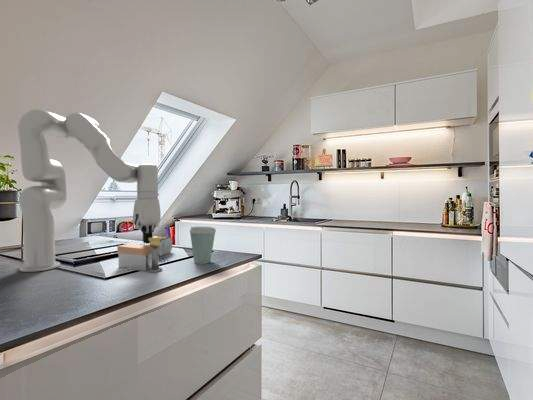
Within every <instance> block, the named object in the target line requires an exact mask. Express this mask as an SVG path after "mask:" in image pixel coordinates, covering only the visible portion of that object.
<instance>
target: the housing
mask: <svg viewBox="0 0 533 400" xmlns="http://www.w3.org/2000/svg"><path fill="white" fill-rule="evenodd" d="M117 255H118V268H119V267H121V268H120V269H126V268H131V269H130V270H133V269H137V270H136V271H140V272H141V271H142V272H148V273H159V272H162V271H163V268H162V267H160V264H159V263H160V261H159V260H160V259H159V258H160V257H159V248H158V246H152V253H151V254H147V255H143V256H142V255H134V254H125V253H118V252H117Z"/></svg>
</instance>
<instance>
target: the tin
mask: <svg viewBox="0 0 533 400" xmlns="http://www.w3.org/2000/svg"><path fill="white" fill-rule="evenodd" d="M160 237H161V240H160V246H158V248H159V258H161V257H164V256H166V255H169V254H170V253H171V252H172V249H173V238H172V236H169V235H168V236H167V235H163V236H160Z"/></svg>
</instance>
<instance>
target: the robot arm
mask: <svg viewBox="0 0 533 400" xmlns="http://www.w3.org/2000/svg"><path fill="white" fill-rule="evenodd" d="M17 134H18V139H19V145H20V147H19V148H20V162H21V173H22V175H23V178H24V179H25V180H26V181H29V182H30V183H31V182H32V183H40V185H32V186H28V187H26V188H24V189H23V190H22V191H21V192H20V194H19V197H18V203H19V207H20V210H21V214H22V225H23V226H22V227H23V254H24V255H23V258H22V260H21V261H23V262H24V264H23V265H20V266H19V268H18V269H19V271H20V272H23V273H35V272H42V271H43V272H44V271H49V270H52V269H56V268H58V267H60V266H61V262H60V261H57V260H56V244H55V243H56V237H55V235H56V234H55V219H54V215H53V213H52V210H57V209H59V208H61V207H63V206H64V205H65V203H66V201H67V182H66V171H65V169H64V167H63V165H62V163H60V162H59V161H57V160H55V159H50V155H49V154H50V153H49V145H48V142H47V140H46V138H45V135H49V136H52V137H56V138H60V139H61V138H63V139H74V140H75V139H76V140H77V141H78V142H79V143H80V144H81V145H82V146H83V148H85V149H86V150H87V151H88V152H89V153H90V154H91V156H92V158H93V160H94V161H95V163H96V164H97V166H98V167H99V168H100V169H101V170H102V171H103V172H104V173H105V174H106V176H107V175H108V177H109V178H110V179H112V180H113V181H115V182H118V183H127V184H131V183H133V184H134V183H137V184H136V189H137V190H136V191H137V192H136V199H135V201H134V205H133V212H132V213H133V214H132V223H133V225H134V226H135V229H136V230H139V231H141V233H142V235H143V237H142V239H143V240H142V241H143V244H150V241H149V238H151V237H153V233H154V232H155V230H156V228H158V227H160V223H161V205H160V199H159V196H160V194H159V192H158V190H159V188H158V187H159V184H158V183H159V173H158V172H159V171H158V170H159V169H158V166H157V165H156V164H153V163H140V164H134V163H129V162H126V161H124V160H122V158H120V157H119V156H118V155H117V154H116V153H115V152H114V150H113V149H112V148H111V140H110V138H109V137H107V135H106V134H105V133H104V132H103V131H102V130H101V126H100V124H99V122H98V121H97V120H95V119H94V118H92V117H90V116H88V115H85V114H83V113H80V112H73V113H70V114H68V115H66V116H61V115H58V114H56V113H54V112H51V111H49V110H44V109H39V108H35V109H31V110H28V111H26V112H25V113H24V114H23V115H22V116H21V117H20V118H19V121H18V124H17Z"/></svg>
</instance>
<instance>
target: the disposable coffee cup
mask: <svg viewBox="0 0 533 400" xmlns="http://www.w3.org/2000/svg"><path fill="white" fill-rule="evenodd" d="M216 230H217V229H216V228H215V227H214V226H204V225H203V226H190V229H189V233H190V242H191V248H192V256H193V261H194V263H195V264H199V265H200V264H201V265H202V264H203V265H205V264H208V263H210V262H211V261H212V255H213V249H214V242H215V235H216V232H217V231H216Z"/></svg>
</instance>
